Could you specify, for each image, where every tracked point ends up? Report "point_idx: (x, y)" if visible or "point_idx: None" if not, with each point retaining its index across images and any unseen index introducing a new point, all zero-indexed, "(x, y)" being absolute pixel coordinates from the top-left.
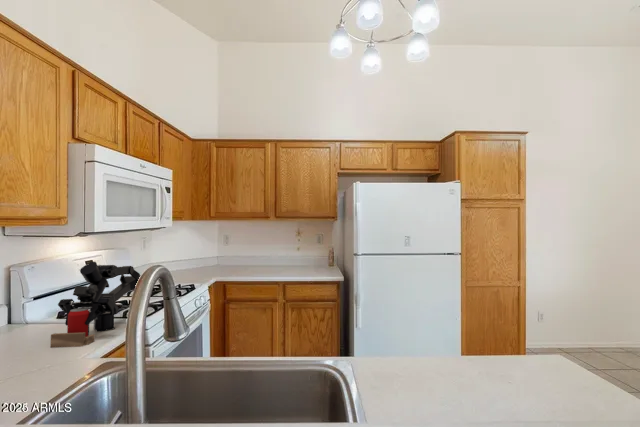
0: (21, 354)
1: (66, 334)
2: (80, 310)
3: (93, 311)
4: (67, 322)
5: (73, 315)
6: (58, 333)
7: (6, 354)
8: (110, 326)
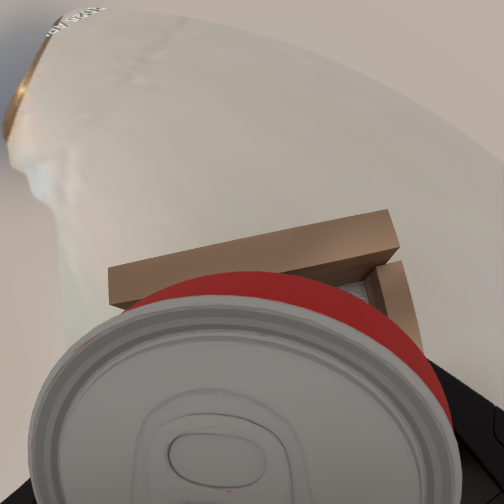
0: (401, 137)
1: (245, 239)
2: (56, 374)
3: (20, 499)
4: None
5: (197, 280)
6: (355, 251)
7: (469, 139)
8: None
